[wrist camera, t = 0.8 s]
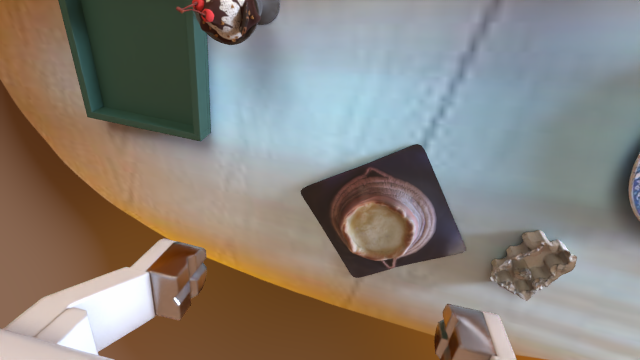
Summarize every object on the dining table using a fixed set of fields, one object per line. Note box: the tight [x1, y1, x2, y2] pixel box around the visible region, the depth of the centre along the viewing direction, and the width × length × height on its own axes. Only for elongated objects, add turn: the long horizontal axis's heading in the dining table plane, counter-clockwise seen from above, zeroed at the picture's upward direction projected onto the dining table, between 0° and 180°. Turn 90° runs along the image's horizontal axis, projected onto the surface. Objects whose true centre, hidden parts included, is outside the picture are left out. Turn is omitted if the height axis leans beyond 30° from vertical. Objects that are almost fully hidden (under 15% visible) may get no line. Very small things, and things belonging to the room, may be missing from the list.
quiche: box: [301, 144, 466, 278], centre depth 52 cm, size 21×20×4 cm
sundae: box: [176, 0, 280, 45], centre depth 34 cm, size 7×7×15 cm
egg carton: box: [489, 230, 577, 301], centre depth 51 cm, size 11×8×4 cm
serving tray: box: [58, 0, 211, 141], centre depth 45 cm, size 22×18×3 cm
